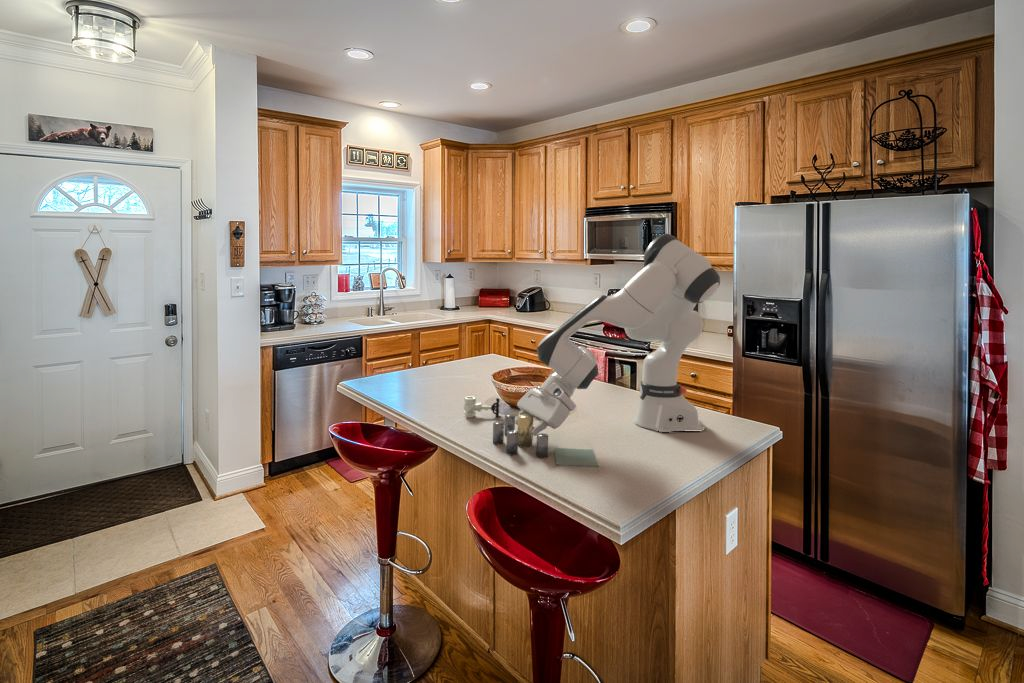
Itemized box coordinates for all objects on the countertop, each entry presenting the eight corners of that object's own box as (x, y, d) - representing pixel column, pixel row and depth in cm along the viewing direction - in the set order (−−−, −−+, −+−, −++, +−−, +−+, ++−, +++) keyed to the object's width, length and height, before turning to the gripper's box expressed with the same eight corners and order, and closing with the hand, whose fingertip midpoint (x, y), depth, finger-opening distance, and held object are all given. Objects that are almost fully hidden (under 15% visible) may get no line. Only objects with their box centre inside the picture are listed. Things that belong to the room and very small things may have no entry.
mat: (592, 450, 154) (592, 449, 153) (598, 466, 142) (598, 465, 142) (554, 449, 154) (554, 448, 154) (556, 465, 142) (556, 464, 142)
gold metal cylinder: (532, 442, 159) (533, 414, 158) (532, 447, 155) (533, 419, 153) (517, 441, 159) (518, 414, 158) (516, 447, 155) (517, 418, 153)
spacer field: (511, 431, 168) (512, 413, 167) (549, 457, 147) (550, 436, 147) (483, 435, 164) (483, 417, 163) (518, 462, 143) (519, 441, 142)
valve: (462, 419, 180) (498, 420, 180) (462, 400, 179) (498, 401, 179) (464, 413, 187) (499, 414, 186) (465, 395, 186) (499, 396, 185)
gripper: (530, 379, 166) (501, 413, 164) (566, 394, 149) (535, 433, 146) (542, 391, 169) (514, 425, 166) (579, 408, 151) (548, 446, 148)
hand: (524, 429), depth 156 cm, fingers open, 8 cm apart
